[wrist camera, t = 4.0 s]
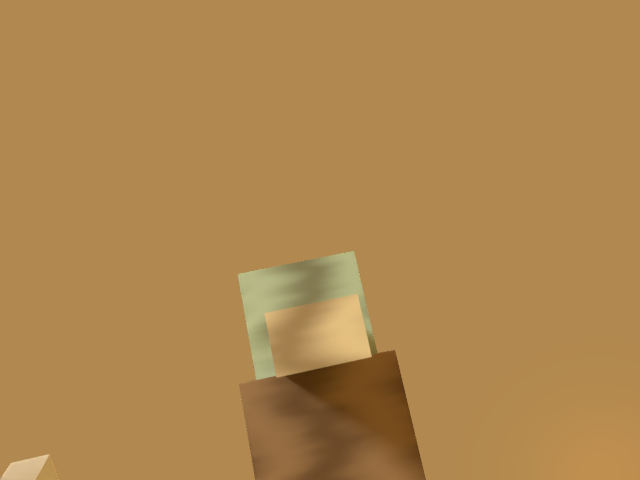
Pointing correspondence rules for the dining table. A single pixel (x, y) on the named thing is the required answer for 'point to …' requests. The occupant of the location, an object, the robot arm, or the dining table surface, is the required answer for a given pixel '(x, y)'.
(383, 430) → the walnut stand
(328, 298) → the beige and green blocks
